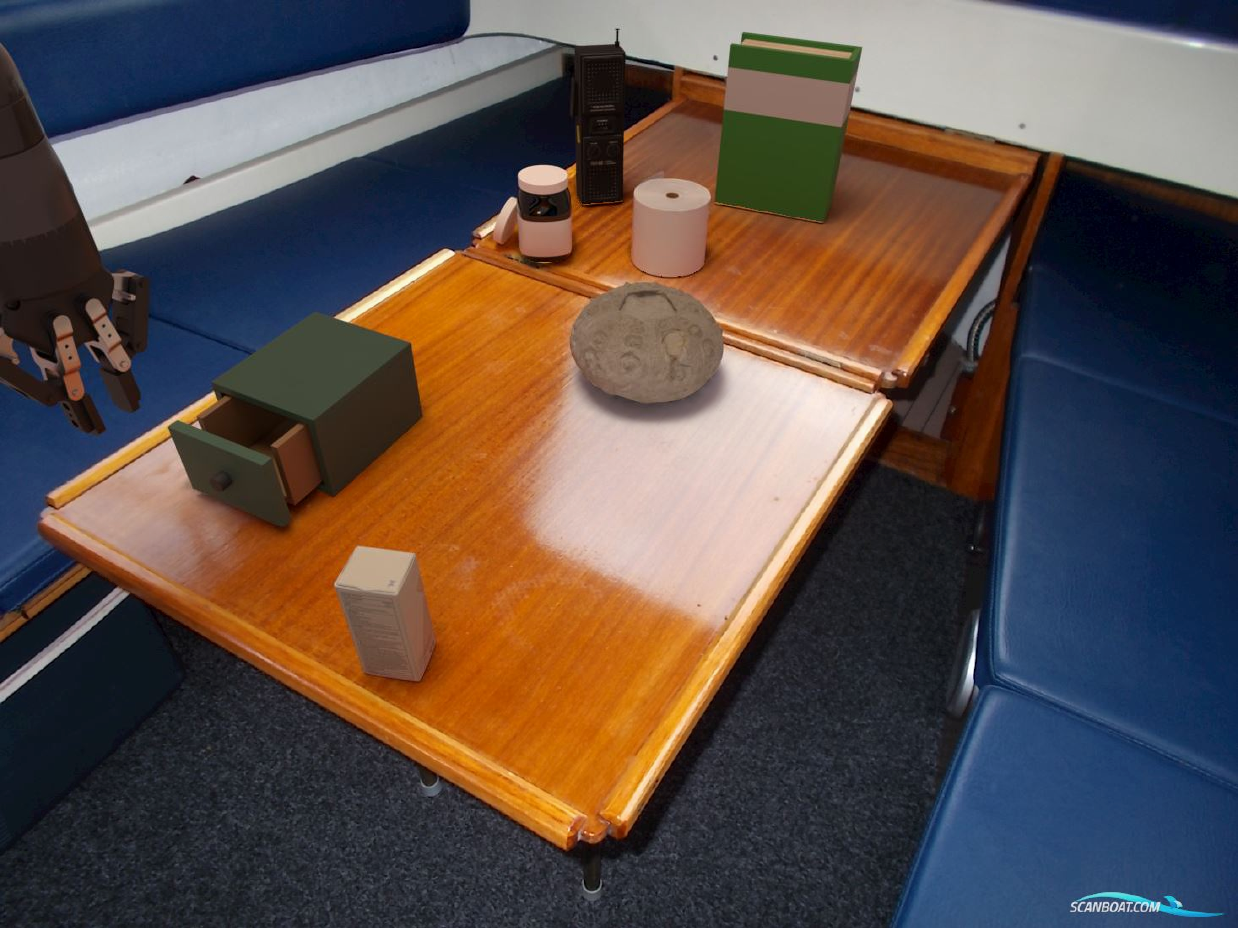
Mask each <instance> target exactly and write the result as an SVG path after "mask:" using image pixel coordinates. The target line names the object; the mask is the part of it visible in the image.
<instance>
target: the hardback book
mask: <svg viewBox="0 0 1238 928" xmlns="http://www.w3.org/2000/svg"><path fill="white" fill-rule="evenodd" d="M862 51H863V46H858V45H850V44H843V43H834V42H828V41H827V42H826V41H818V40H810V39H803V38H796V37H795V38H794V37H787V36H779V35H772V34H763V33H756V32H747V31H742V32H741V37H740V44H739V43H733V42H731V44H730V45H729V54H728V62H727V64H728V65H727V74H726V82H725V83H726V84H725V94H724V103H723V113H722V114H723V115H722V123H721V132H720V142H719V143H720V144H719V152H718V162H717V173H716V180H715V181H716V182H715V191H714V192H715V193H714V202H718V203H723V204H727V205H732V206H741V207H745V208H750V209H754V210H758V211H768V212H772V213H777V214H782V215H786V216H791V217H800V218H805V219H810V220H816V221H821V222H823V221H824V219H825V220H826V218H827V216H828V214H829V212H830V210H829V208H830V209H831V207H832V205H831V204H833V200H834V194H835V189H836V184H837V179H838V174H839V169H840V163H841V158H842V153H843V148H844V142H845V139H846V134H847V128H848V124H849V118H850V112H851V108H852V103H853V97H854V92H855V86H856V81H857V77H858V72H859V67H860V61H861V56H862ZM714 202H713V203H714ZM830 206H831V207H830ZM828 211H829V212H828ZM827 213H828V214H827ZM826 215H827V216H826ZM825 217H826V218H825ZM824 222H825V221H824Z"/></svg>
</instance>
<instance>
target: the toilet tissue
mask: <svg viewBox="0 0 1238 928" xmlns="http://www.w3.org/2000/svg"><path fill="white" fill-rule="evenodd" d="M664 175H665V170H661V171H658V172H655V173H654V174H652V175H650V176H649V177H646V178H645V179H643V180H642V182H640V183H639V184H637V186H636V187H635V188H634V191H633V196H632V197H633V201H632V219H631V220H632V221H631V222H632V223H631V227H632V229H631V250H630V255H631V257H630V259H631V263H632V264H633V266H634V267H635V268H637V269H638V270H640V271H641V272H643V271H644V273H645V272H646V274H648V275H651V276H655V277H661V276H662V277H663V278H679V277H678V276H681V277H685V276H689V275H692V274H695V273H697V272H699V270H701V269H702V268H703V267H704V266H705V262H704V261H705V259H706V250H707V238H708V233H709V232H708V228H709V218H710V211H711V210H710V209H711V197H712V196H711V193H710V191H709V189H708V188H707V187H705V186H703V185H702V184H700V183H697V182H695V181H692V180H687V179H682V178H664ZM696 271H697V272H696ZM694 272H695V273H694Z"/></svg>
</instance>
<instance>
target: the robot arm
mask: <svg viewBox="0 0 1238 928" xmlns="http://www.w3.org/2000/svg"><path fill="white" fill-rule="evenodd" d="M150 301H151V281H150V279H149V277H147V276H145V275H141V274H138V273H135V272H132V271H129V270H127V269H123V268H119V269H117V270H115V272H114V273H112V272H110V271H109V270H108V269H107V268H106V267H105V266H103V264H102V255H101V253H100V250H99V248H98V246H97V243H96V241H95V238H94V237H93V233H92V232H91V229H90V227H89V225H88V222H87V220H86V216H85V215H84V212H83V210H82V207H81V205H80V202H79V199H78V197H77V195H76V192H75V188H74V186H73V184H72V182H71V180H70V178H69V176H68V173H67V171H66V169H65V166H64V164H63V162H62V161H61V159H60V157H59V155H58V154H57V152H56V150H55V149H54V147H53V145H52V143H51V141H50V140H49V138H48V136H47V134H46V132H45V128H44V126H43V125H42V122H41V119H40V116H39V114H38V112H37V109H36V107H35V105H34V102H33V100H32V98H31V95H30V93H29V91H28V88H27V85H26V83H25V82H24V79H23V76H22V75H21V72H20V70H19V68H18V67H17V65H16V63H15V61H14V60H13V58H12V56H11V54H10V53H9V51H8V50H7V49H6V48H5V46H4V45H3V44H2V43H1V42H0V383H1V384H3V385H5V386H6V387H8V388H9V389H10V390H12V391H14V392H16V393H17V394H19V395H21V396H22V397H24V398H27V399H29V400H33V401H35V402H38V403H39V404H41V405H43V406H45V407H47V408H52V407H55V406H57V405H58V403H59V405H60V407H61V409H62V411H63V413H64V415H65V416H66V418H67V421H68V423H69V425H70V426H72V427H73V428H74V429H76V430H79V431H81V432H83V433H86V434H91V435H93V436H95V437H99V436H100V435H102V434H104V433H105V432H106V431H107V428H106V426H105V424H104V421H103V419H102V417H101V415H100V413H99V410H98V409H97V406H96V404H95V402H94V401H93V399H92V396H91V394H90V393H88V392H86V390H85V387H84V384H83V381H82V376H81V374H80V369H82V363H81V360H80V356H79V353H78V349H80V348H81V346H83V345H85V347H86V348H87V350H88V351H89V353H90V354H91V356H92V357H93V359H94V361H95V362H97V363H98V364H100V367H98V368H97V370H98V373H99V375H100V377H101V380H102V382H103V384H104V386H105V388H106V391H107V393H108V395H109V397H110V399H111V401H112V404H113V405H114V406H115V407H116V408H117V409H119V410H121V411H125V412H127V413H129V414H134V413H135V412H137V411H138V410H140V409H141V405H140V403H139V401H140V400H141V399H142V393H141V391H140V388H139V386H138V383H137V380H136V378H135V376H134V374H133V372H132V369H131V366H132V359H133V358H134V357H135V356H136V354H142V353H144V352H145V351H146V350H147V348H148V339H149V338H148V337H149V319H150V318H149V317H150ZM111 304H112V310H111ZM110 310H111V313H112V314H111V320H110V318H109V313H110ZM14 341H15V342H18V343H20V344H22V345H24V346H26V347H28V348H29V350H30V353H31V356H32V359H33V361H34V362H35V364H36V365H37V366H38V367H39V368H40V371H41V374H42V377H43V380H40V379H38V378H37V377H35V376H33V375H32V374H30V373H29V372H27V371H26V370H24V369H23V368H21V367H19V366H18V365H19V364H20V359H19V355H18V354H17V352H16V351H15V350H14V348H13V343H14Z"/></svg>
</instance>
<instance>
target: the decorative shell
mask: <svg viewBox="0 0 1238 928" xmlns="http://www.w3.org/2000/svg"><path fill="white" fill-rule="evenodd" d="M723 334H724V328H723V327H721V326H720V325H718V324H717V319H715V317H714V315H713V313H711V311H709V309H708V308H707V307H705V306H704V305H703V303H701V300H699V299H697V298H696V297H694V296H692V294H690V293H687V292H685V291H684V290H681V289H677V288H675V287H672V286H667V285H665V284H660V283H658V281H656V280H655V281H654V282H650V281H642V282H641V281H640V282H639V281H637V282H634V283H633V282H632V283H630V282H629V281H626V282H624V284H623V285H619V286H616V287H615V288H612V289H609V290H608V291H606V292H602V293H600V294H599V295H597V297H593V296H592V297H590V300H589V303H587V304H586V305H585V306H584V307H583V308H582V309H581V311H580V312H579V314H578V316H577V317H576V319H575V320H574V322H573V324H572V327H571V330H570V335H569V349H570V352H571V356H572V358H573V360H574V363H575V364H576V366H577V367H578V369H579V370H580V371H581V372H582V374H583V375H584V377H585V378H586V379H587V380H588V382H590V383H591V384H592V385H594V386H595V387H597V388H598V389H600V390H601V391H603V392H605V393H606V394H608V395H616V396H618V397H622V398H625V399H628V400H631V401H634V402H637V403H640V404H647V405H648V404H653V403H668V402H671V401H672V402H673V401H678V400H683V399H684V398H685V399H686V398H687V397H689V396H691V395H692V394H694V393H695V392H697V391H699V390H700V389H701V388H702V387H703V386H704V385H705V384H706V383H707V382H708V381H709V380H710V378H712V377H713V376H714V375H715V373H716V372H717V371H718V368H719V366H720V365H721V362H722V360H723V356H724V352H725V351H724V350H725V349H724V348H725V345H724V343H725V341H724V339H723Z"/></svg>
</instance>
